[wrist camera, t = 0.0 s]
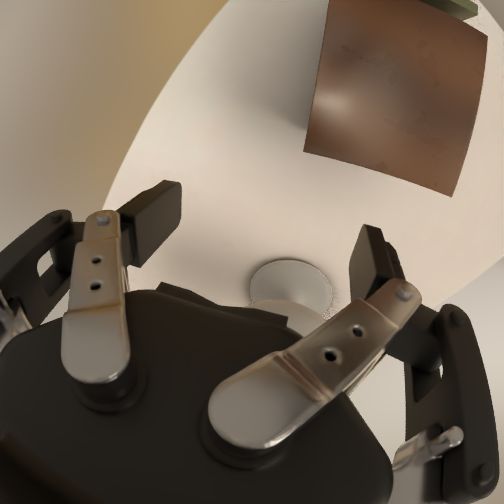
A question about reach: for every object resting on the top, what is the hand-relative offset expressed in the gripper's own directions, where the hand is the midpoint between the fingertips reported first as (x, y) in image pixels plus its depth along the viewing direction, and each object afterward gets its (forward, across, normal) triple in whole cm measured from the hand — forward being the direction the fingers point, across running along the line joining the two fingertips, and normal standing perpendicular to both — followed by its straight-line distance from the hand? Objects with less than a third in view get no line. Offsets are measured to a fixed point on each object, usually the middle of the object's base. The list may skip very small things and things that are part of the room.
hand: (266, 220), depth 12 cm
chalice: (+21, -3, +22) cm, 31 cm away
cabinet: (+21, -7, -8) cm, 24 cm away
